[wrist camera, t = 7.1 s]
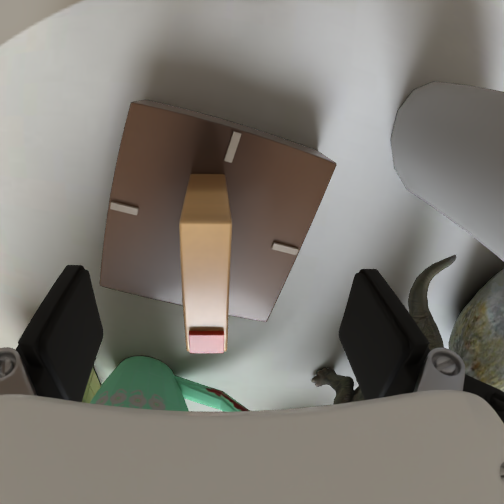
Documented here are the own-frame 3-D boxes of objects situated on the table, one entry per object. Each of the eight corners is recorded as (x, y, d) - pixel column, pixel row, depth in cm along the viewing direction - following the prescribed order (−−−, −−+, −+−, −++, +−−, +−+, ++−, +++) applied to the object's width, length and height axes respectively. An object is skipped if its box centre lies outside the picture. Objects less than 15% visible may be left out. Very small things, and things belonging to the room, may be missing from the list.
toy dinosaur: (416, 222, 20) (523, 323, 11) (469, 265, 23) (549, 349, 13) (259, 409, 29) (277, 513, 19) (325, 419, 31) (351, 507, 22)
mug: (105, 402, 26) (90, 493, 18) (77, 329, 22) (39, 439, 13) (256, 406, 28) (272, 499, 20) (267, 333, 24) (295, 452, 15)
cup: (381, 87, 16) (513, 110, 7) (475, 79, 15) (592, 106, 7) (398, 214, 20) (494, 302, 11) (481, 188, 20) (575, 250, 11)
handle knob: (190, 173, 14) (178, 224, 9) (225, 173, 14) (233, 225, 9) (191, 276, 17) (186, 356, 12) (221, 276, 17) (227, 356, 12)
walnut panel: (318, 151, 17) (338, 164, 15) (259, 293, 22) (267, 324, 19) (144, 99, 15) (129, 102, 12) (111, 259, 19) (98, 287, 16)
